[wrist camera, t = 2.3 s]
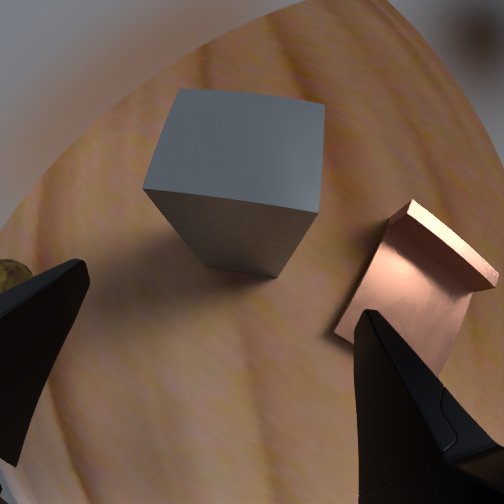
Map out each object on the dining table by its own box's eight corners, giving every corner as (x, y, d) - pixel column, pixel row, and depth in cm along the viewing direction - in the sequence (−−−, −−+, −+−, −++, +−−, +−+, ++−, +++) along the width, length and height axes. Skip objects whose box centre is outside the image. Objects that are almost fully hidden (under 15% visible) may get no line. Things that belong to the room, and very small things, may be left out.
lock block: (277, 277, 20) (318, 213, 8) (205, 266, 20) (142, 188, 8) (284, 222, 21) (324, 104, 8) (216, 212, 21) (179, 88, 9)
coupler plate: (426, 387, 18) (453, 396, 14) (330, 331, 19) (348, 333, 15) (470, 281, 20) (499, 274, 16) (389, 217, 21) (412, 199, 17)
